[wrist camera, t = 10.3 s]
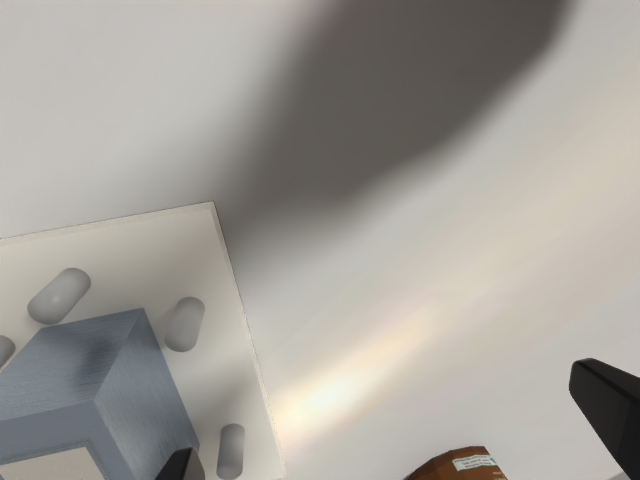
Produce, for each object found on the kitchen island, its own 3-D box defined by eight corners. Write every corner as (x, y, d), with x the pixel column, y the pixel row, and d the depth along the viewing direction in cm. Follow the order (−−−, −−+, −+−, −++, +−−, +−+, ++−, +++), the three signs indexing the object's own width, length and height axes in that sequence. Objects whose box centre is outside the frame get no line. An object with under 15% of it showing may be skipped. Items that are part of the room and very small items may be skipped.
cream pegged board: (213, 200, 18) (201, 227, 15) (284, 460, 26) (287, 516, 23) (-88, 255, 17) (-174, 296, 14) (78, 507, 25) (48, 573, 22)
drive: (143, 307, 19) (90, 405, 13) (199, 444, 23) (178, 564, 17) (40, 328, 18) (-60, 438, 13) (116, 463, 22) (66, 592, 17)
